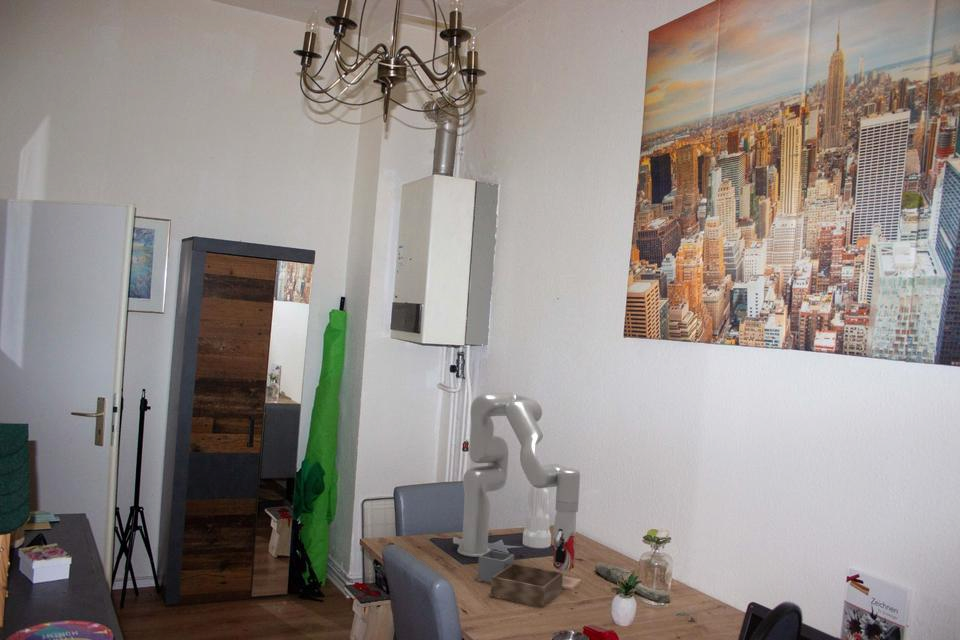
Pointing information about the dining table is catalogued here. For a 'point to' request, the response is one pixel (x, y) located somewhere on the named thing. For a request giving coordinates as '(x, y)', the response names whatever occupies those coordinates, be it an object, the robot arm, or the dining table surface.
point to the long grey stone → (614, 576)
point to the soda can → (566, 555)
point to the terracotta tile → (570, 582)
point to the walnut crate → (527, 584)
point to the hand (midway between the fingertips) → (563, 559)
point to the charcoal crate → (493, 564)
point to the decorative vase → (537, 519)
